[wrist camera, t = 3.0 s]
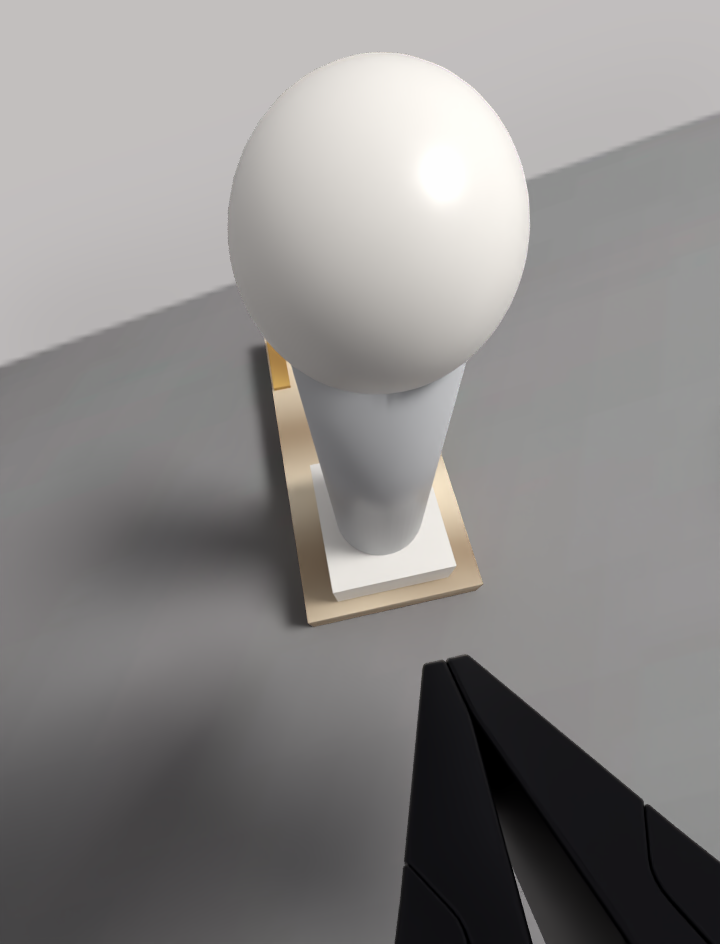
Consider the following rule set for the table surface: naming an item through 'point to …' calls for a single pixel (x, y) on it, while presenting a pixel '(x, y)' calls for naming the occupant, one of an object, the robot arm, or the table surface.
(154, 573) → the table surface
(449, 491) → the fader track
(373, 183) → the lever
